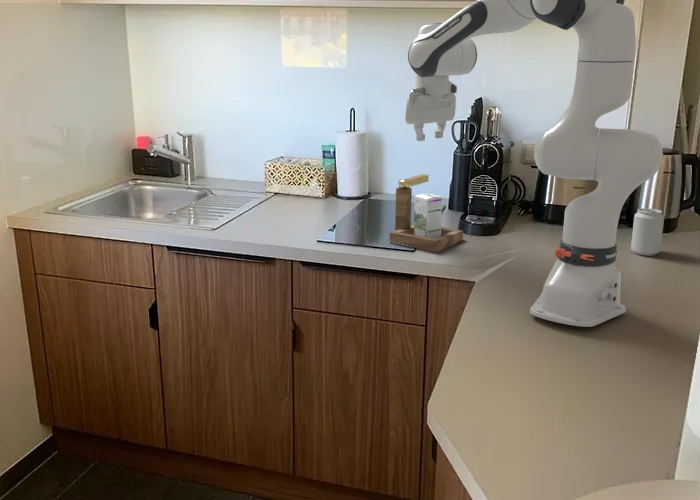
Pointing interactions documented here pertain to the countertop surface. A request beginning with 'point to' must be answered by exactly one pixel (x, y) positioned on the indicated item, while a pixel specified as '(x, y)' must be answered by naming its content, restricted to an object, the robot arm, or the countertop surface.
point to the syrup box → (427, 215)
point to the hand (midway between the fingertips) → (429, 139)
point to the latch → (412, 181)
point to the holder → (406, 231)
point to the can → (647, 232)
